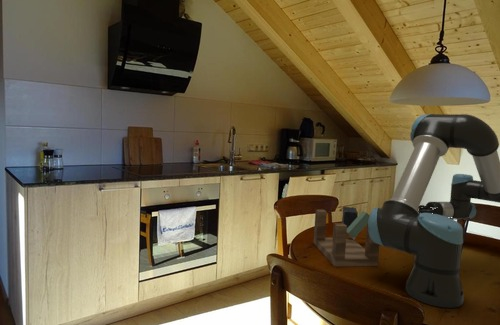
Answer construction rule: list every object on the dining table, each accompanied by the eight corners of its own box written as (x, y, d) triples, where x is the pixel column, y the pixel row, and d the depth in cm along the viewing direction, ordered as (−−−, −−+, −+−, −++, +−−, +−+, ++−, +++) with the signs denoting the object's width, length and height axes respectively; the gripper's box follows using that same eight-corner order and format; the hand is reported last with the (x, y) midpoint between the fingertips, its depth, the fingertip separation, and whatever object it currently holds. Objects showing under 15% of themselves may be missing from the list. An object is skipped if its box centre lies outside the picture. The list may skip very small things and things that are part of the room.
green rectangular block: (354, 240, 144) (373, 218, 144) (347, 234, 144) (366, 212, 144) (350, 237, 148) (369, 216, 148) (344, 231, 147) (362, 210, 147)
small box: (356, 234, 161) (358, 212, 160) (342, 233, 162) (343, 211, 161) (354, 228, 171) (356, 207, 170) (341, 227, 173) (342, 206, 172)
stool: (377, 265, 124) (381, 226, 123) (334, 266, 122) (337, 225, 121) (350, 243, 148) (352, 209, 147) (313, 243, 146) (315, 209, 145)
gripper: (448, 223, 144) (394, 223, 141) (428, 215, 157) (378, 215, 154) (449, 205, 143) (395, 205, 140) (429, 198, 156) (379, 198, 153)
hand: (386, 210), depth 147 cm, fingers closed
